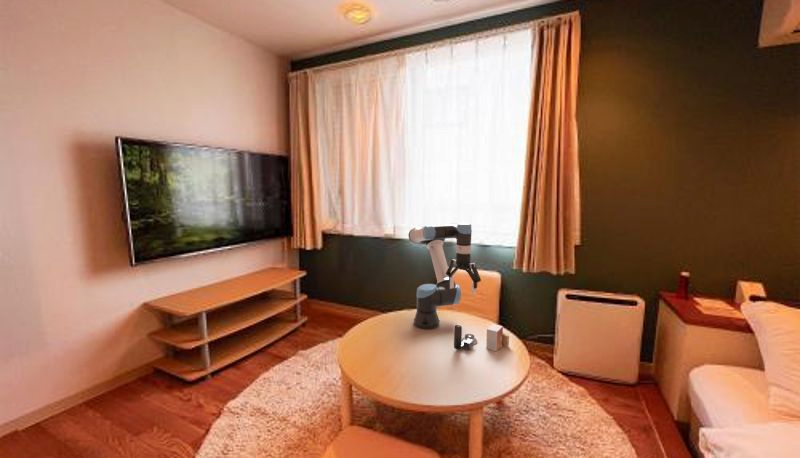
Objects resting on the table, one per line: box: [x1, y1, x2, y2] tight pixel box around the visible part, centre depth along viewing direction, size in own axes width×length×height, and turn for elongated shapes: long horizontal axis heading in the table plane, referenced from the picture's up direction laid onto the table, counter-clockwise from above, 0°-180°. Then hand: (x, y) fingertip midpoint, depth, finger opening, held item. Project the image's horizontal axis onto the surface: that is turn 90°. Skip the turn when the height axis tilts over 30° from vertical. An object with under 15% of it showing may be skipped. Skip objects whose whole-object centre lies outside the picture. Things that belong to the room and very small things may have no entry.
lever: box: [453, 324, 475, 351], centre depth 168 cm, size 17×7×12 cm, turn 142°
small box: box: [485, 323, 504, 352], centre depth 167 cm, size 8×6×10 cm
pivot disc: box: [462, 336, 478, 345], centre depth 174 cm, size 8×8×1 cm
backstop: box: [502, 332, 510, 348], centre depth 171 cm, size 8×2×6 cm, turn 34°
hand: (462, 291), depth 176 cm, fingers open, 13 cm apart
